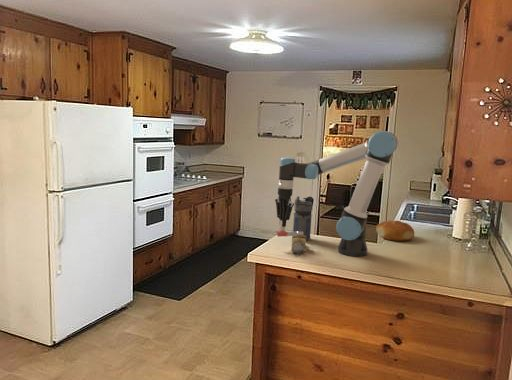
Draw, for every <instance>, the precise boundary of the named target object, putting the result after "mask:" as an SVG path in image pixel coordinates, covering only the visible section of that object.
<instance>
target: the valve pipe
mask: <svg viewBox="0 0 512 380" xmlns="http://www.w3.org/2000/svg"><path fill="white" fill-rule="evenodd" d="M306 243H307V240H306V236H305V235H303V236H291V250H290V251H291V252H292V254H293V255H303V253H304V252H306V247H307V246H306V245H307V244H306Z"/></svg>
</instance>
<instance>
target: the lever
mask: <svg viewBox="0 0 512 380" xmlns="http://www.w3.org/2000/svg"><path fill="white" fill-rule="evenodd" d="M276 236H277V237H292V236H303V231H293V230H292V231H290V230H289V231H287V230H285V231H280V230H276Z"/></svg>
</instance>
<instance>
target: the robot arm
mask: <svg viewBox="0 0 512 380" xmlns="http://www.w3.org/2000/svg"><path fill="white" fill-rule="evenodd" d="M397 148H398V138H397V137H396V135H395V134H394V133H393V132H390V131H386V130H379V131H376V132H374V133H373V134H372V135H371V136H370V138H369V139H366V140H365V142H363V143H361V144H358V145H356V146H353V147H349V148H346V149H344V150H342V151H339V152H335V153H333V154H330V155H328V156H325V157H322V158H320V159H317V160H313V161H311V162H306V163H304V162H296V159H295V158H293V157H281V158H280V162H279V168H278V169H279V173H278V184H277V185H278V187H277V195H278V197H277V198H275V199H274V201H275V202H274V203H275V205H276V207H275V208H276V217H277V219H279V231H286V226H287V221H289V220H290V219H291V215H292V211H293V208H294V203H295V202H292V198H291V197H292V196H293V187H294V178H298V179H306V180H316V179H317V177H318V176H319V175H322V174H325V173H327V172H331V171H333V170H336V169H340V168H342V167H344V166H347V165H351V164H354V163H357V162H359V161H363V160H365V163H364V165H363V168H362V170H361V174H359V175H360V176H359V178H358V181H357V183H356V186H355V189H354V191H353V193H352V196H351V198H350V201H349V203H348V206H345V207H344V208H343V211H342V213H341V216H340V218H339V220H338V221H337V222H336V226H335V227H336V229H335V230H336V233H337V235H338V236H339V237H340V238H341V239H340V241H339V244H338V247H337V252H338V253H339V254H341V253H342V255H344V256H350V257H365V256H367V255H368V252H369V251H368V246H367V245H368V244H367V241H366V234H367V223H368V221H367V220H368V219H367V218H368V211H367V210H368V209H369V206H370V203H371V200H372V198H373V195H374V193H375V190H376V188H377V185H378V184H379V179H380V177H381V176H382V172H383V170H384V168H385V166H387V165H389V164H390V161H391V159H392V157H393V154H394V152H395V151H396V149H397Z"/></svg>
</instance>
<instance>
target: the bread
mask: <svg viewBox="0 0 512 380" xmlns="http://www.w3.org/2000/svg"><path fill="white" fill-rule="evenodd" d="M375 230H376V233H377V235H378V236H379V237H380V238H382V239H384V240H387V241H393V242H405V241H407V242H408V241H410V240H412V239H413V238H414V236H415V230H414V228H413V227H412V226H411V225H410V224H408V223H405V222H404V221H400V220H386V221H382V222H379V223H378V224H377V225H376V226H375Z"/></svg>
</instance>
